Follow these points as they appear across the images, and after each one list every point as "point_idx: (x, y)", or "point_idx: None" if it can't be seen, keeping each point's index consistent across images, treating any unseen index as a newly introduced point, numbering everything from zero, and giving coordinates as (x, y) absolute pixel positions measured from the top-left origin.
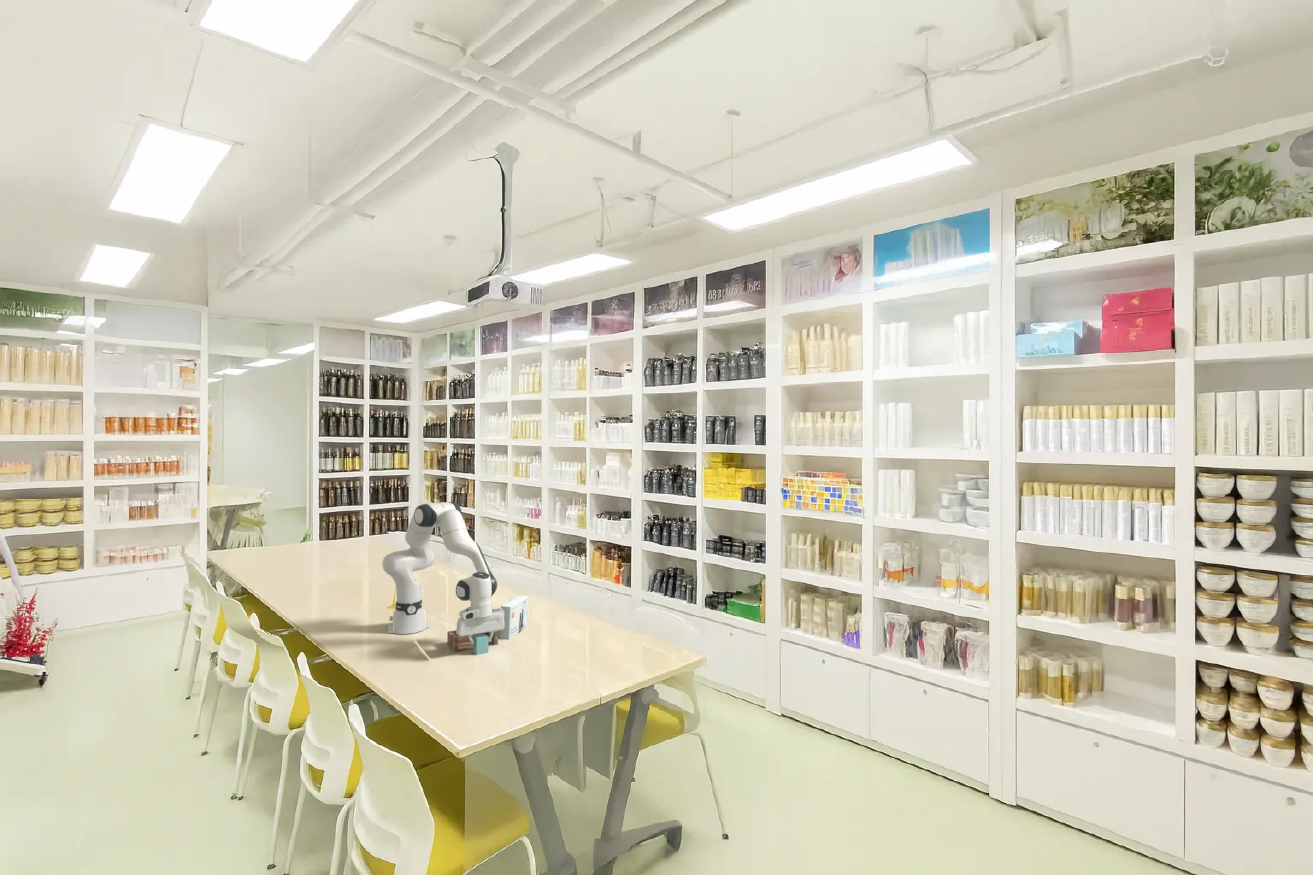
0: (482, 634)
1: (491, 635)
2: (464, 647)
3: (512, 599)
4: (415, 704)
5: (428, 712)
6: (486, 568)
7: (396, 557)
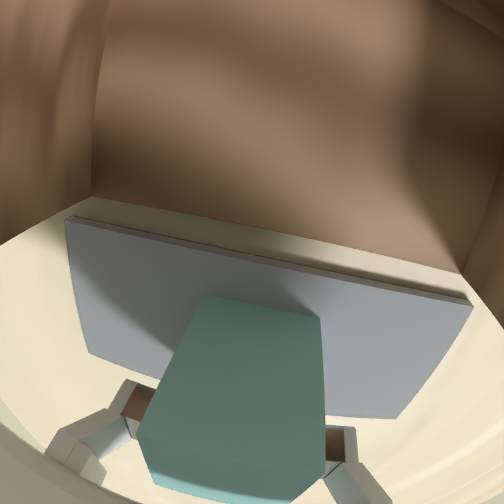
0: (278, 474)
1: (338, 501)
2: (178, 110)
3: None
4: (27, 426)
5: None
6: None
7: None
